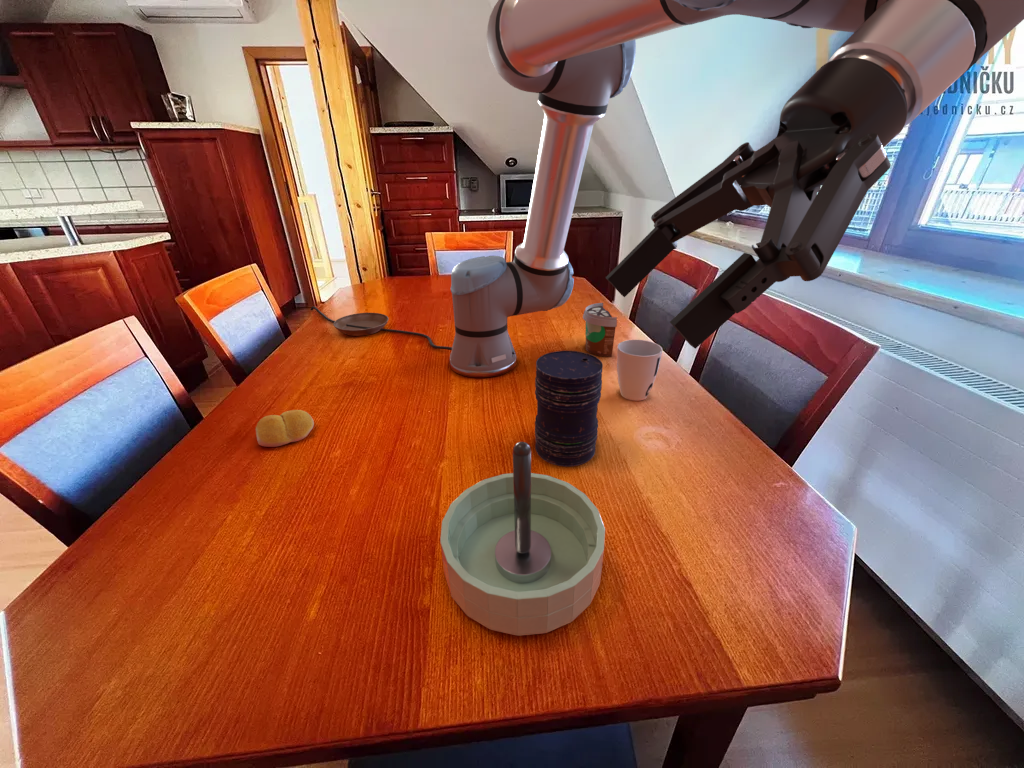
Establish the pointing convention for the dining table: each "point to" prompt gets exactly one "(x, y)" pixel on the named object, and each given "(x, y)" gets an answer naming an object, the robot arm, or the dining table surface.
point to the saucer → (361, 323)
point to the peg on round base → (522, 529)
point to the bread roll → (283, 428)
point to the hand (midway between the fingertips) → (642, 308)
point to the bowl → (491, 516)
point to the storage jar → (567, 406)
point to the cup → (637, 367)
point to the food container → (599, 330)
